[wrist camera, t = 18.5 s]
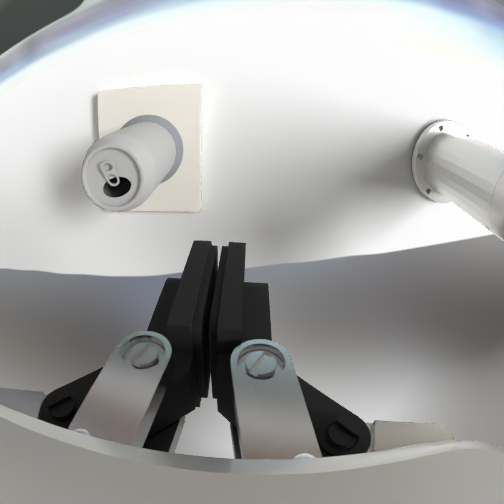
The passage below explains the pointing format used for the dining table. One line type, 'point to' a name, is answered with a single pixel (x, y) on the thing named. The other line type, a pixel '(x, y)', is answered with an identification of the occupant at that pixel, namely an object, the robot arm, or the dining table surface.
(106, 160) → the can
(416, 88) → the dining table surface
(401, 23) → the dining table surface
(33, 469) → the robot arm
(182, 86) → the tile
